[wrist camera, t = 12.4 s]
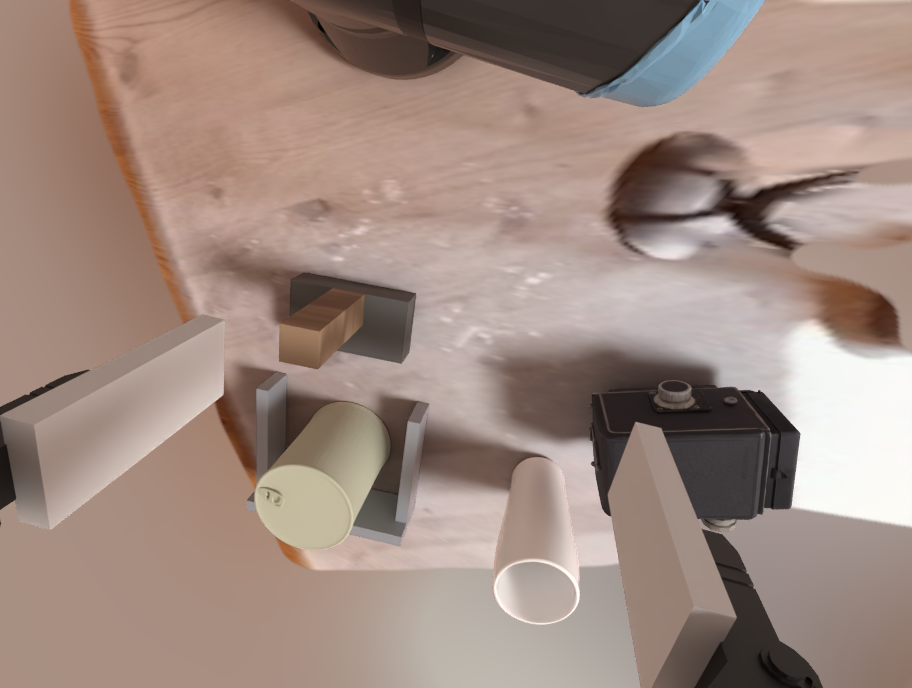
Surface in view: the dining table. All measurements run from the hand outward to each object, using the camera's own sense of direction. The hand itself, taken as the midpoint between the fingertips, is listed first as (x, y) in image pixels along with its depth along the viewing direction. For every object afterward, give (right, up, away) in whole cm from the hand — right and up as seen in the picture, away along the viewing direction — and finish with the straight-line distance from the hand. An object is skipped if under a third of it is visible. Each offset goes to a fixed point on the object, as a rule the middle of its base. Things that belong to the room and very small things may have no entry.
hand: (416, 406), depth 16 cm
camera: (+21, -4, +32) cm, 39 cm away
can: (-10, -8, +39) cm, 41 cm away
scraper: (-8, +5, +34) cm, 35 cm away
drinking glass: (+10, -12, +37) cm, 40 cm away
